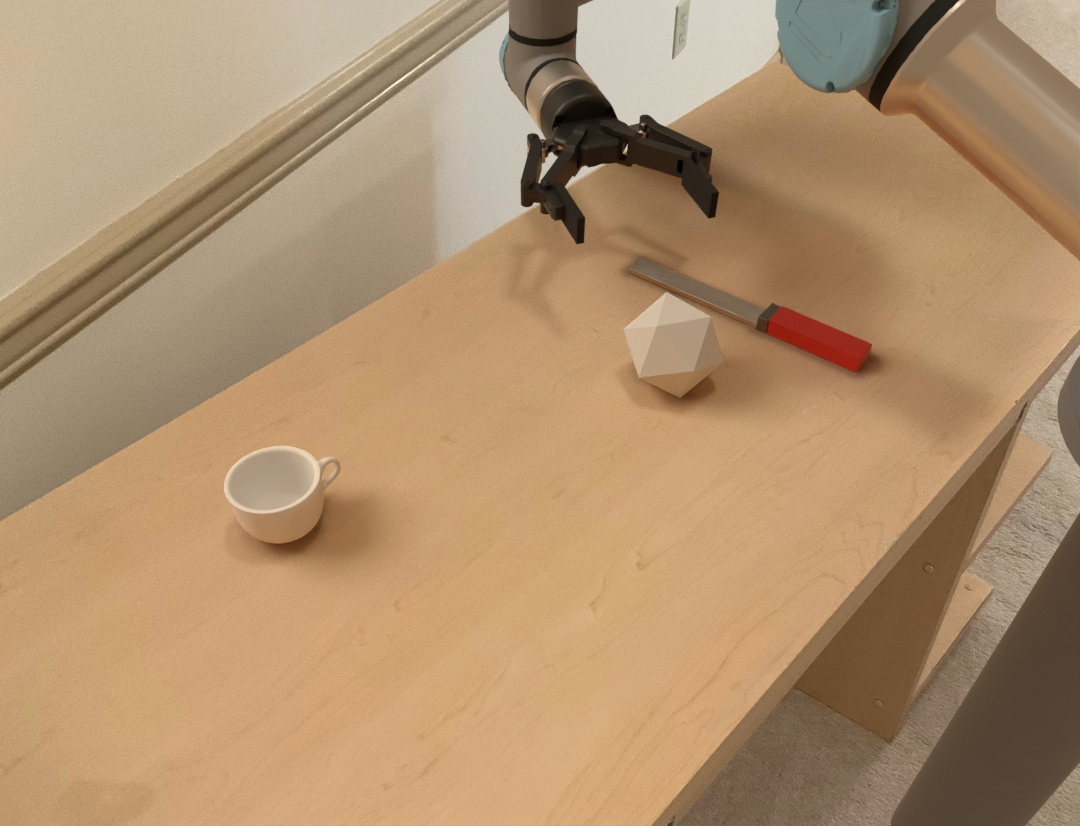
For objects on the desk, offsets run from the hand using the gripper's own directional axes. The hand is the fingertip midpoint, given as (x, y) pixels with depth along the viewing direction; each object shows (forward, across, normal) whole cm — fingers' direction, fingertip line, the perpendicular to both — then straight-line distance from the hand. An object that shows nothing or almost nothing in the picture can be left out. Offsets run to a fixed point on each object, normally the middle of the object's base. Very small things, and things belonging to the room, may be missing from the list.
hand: (648, 218), depth 96 cm
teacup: (+16, +38, -12) cm, 43 cm away
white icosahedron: (+10, +1, -12) cm, 15 cm away
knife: (+2, -10, -12) cm, 16 cm away
